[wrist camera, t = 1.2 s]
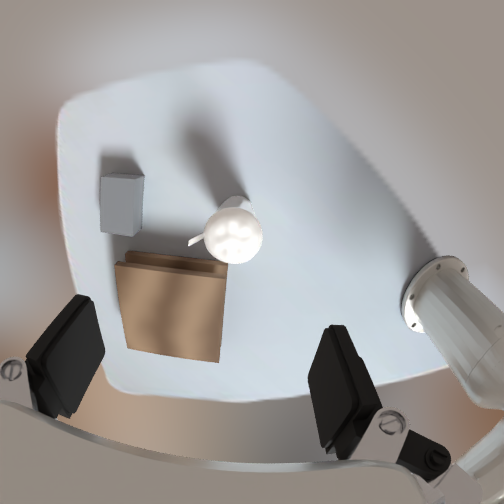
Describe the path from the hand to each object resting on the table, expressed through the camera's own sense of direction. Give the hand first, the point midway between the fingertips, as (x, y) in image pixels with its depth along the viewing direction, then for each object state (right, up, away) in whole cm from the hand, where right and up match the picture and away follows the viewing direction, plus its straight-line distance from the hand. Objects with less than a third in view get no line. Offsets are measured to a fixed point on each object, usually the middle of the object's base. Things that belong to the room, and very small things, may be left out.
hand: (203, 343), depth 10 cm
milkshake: (0, +8, +19) cm, 20 cm away
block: (-12, +9, +18) cm, 23 cm away
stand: (-7, -2, +23) cm, 24 cm away
